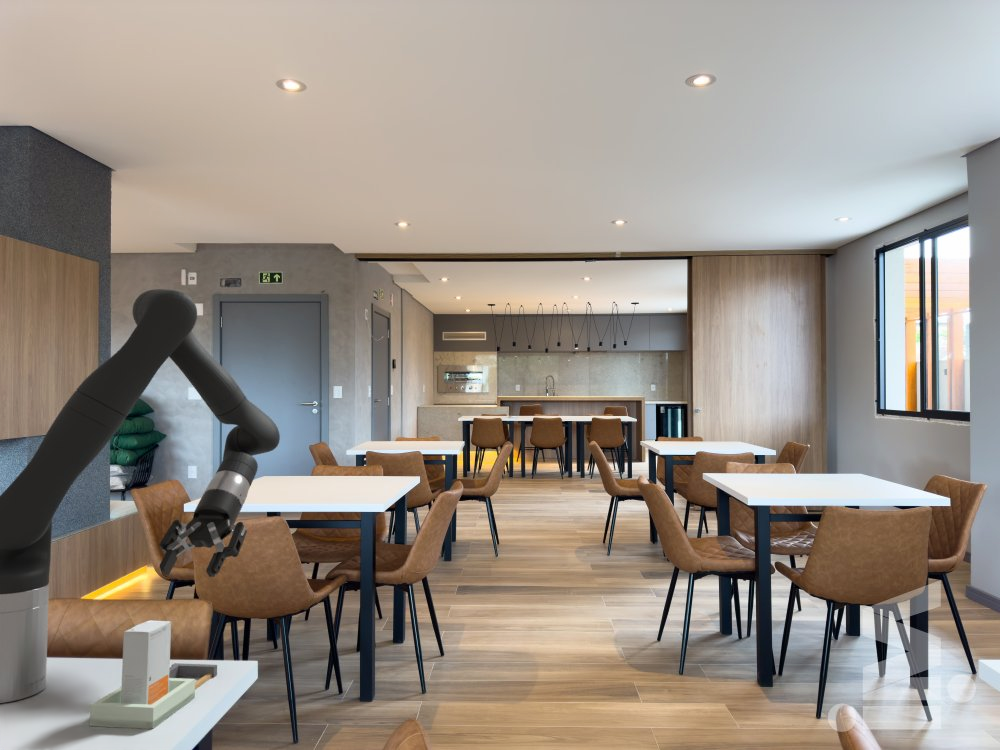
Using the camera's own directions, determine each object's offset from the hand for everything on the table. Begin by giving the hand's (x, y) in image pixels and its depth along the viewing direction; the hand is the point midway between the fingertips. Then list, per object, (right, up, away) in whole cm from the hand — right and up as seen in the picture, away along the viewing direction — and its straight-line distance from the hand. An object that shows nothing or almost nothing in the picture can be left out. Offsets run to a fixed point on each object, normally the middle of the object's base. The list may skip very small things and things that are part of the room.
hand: (186, 573), depth 119 cm
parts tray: (0, -17, -14) cm, 22 cm away
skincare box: (0, -17, -13) cm, 21 cm away
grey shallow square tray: (0, -18, -3) cm, 18 cm away
